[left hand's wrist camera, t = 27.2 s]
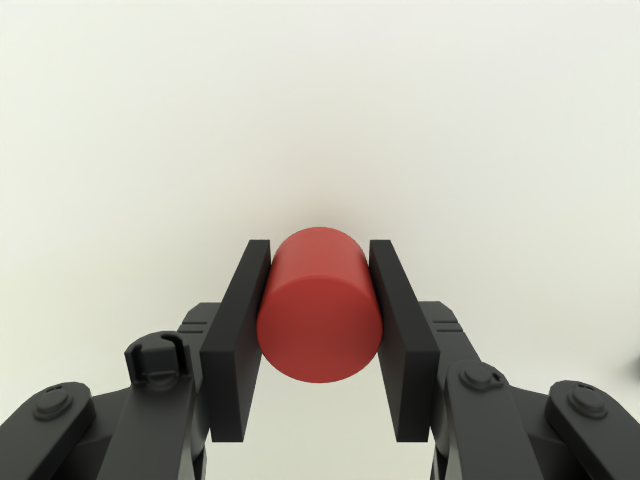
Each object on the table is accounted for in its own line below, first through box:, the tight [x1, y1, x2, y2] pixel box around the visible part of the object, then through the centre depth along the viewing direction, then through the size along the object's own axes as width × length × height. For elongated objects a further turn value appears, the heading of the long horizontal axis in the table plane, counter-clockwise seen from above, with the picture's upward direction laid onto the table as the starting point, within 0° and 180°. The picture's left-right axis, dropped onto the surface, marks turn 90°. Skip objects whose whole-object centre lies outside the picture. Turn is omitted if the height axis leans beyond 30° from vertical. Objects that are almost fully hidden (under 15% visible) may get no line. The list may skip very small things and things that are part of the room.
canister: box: [256, 227, 383, 383], centre depth 13 cm, size 4×4×4 cm
